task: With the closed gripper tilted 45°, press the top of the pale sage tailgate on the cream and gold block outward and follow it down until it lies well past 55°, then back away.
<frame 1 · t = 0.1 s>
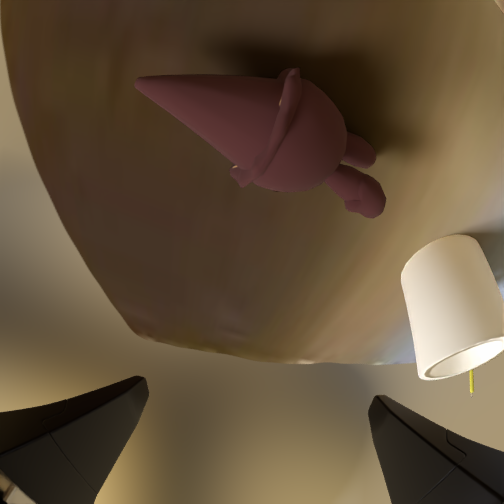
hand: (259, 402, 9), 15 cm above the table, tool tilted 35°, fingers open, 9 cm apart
icecream: (274, 108, 16), on the table
mug: (445, 270, 25), on the table
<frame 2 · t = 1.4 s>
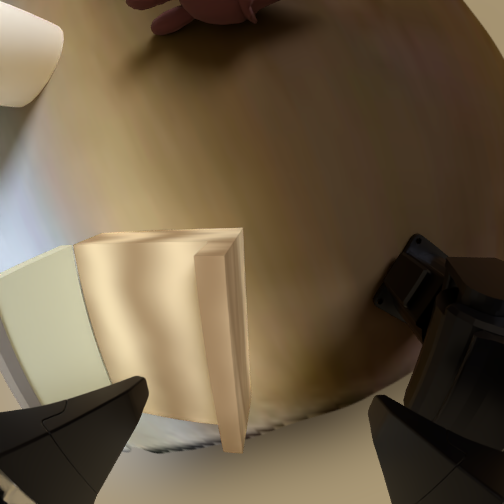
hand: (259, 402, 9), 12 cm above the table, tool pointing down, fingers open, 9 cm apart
cream and gold block: (177, 323, 23), on the table
icecream: (241, 8, 15), on the table
mug: (27, 68, 17), on the table
tailgate: (59, 370, 15), point 9 cm above the table, hinge at 0.0°
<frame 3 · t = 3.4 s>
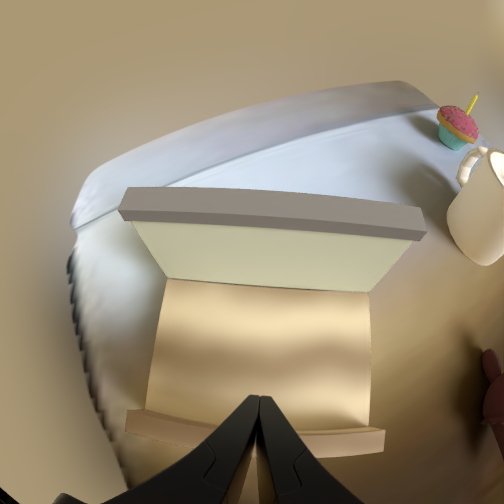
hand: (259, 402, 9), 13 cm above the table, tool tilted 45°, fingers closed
cream and gold block: (261, 370, 22), on the table
icecream: (488, 409, 17), on the table
cupcake: (448, 142, 38), on the table
mug: (471, 225, 29), on the table
tailgate: (271, 249, 17), point 9 cm above the table, hinge at 0.0°
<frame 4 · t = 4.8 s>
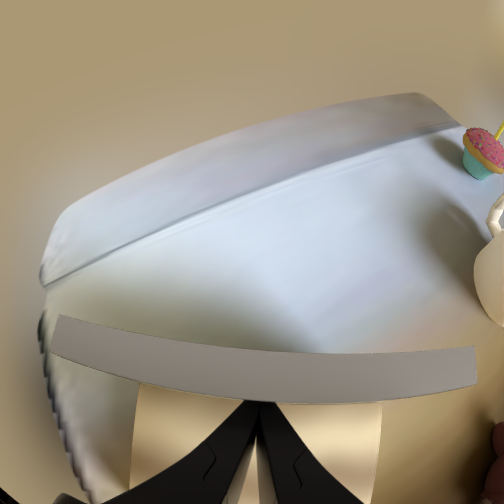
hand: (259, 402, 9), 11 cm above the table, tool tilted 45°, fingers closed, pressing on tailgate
cream and gold block: (253, 471, 16), on the table
icecream: (491, 477, 12), on the table
cupcake: (473, 170, 32), on the table
mug: (497, 277, 23), on the table
tailgate: (264, 387, 12), point 9 cm above the table, hinge at 3.0°, touching gripper
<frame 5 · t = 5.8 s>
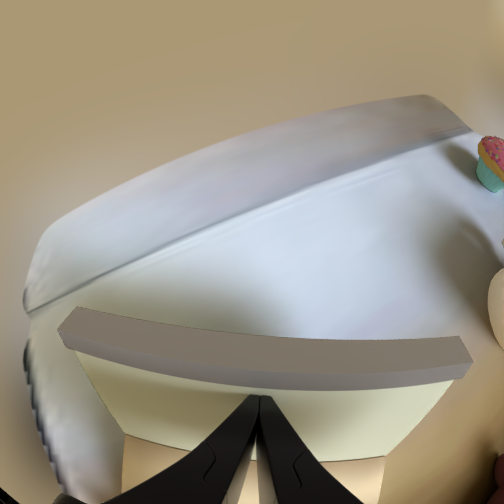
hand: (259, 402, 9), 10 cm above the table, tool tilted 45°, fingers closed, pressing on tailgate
cupcake: (487, 182, 28), on the table
tailgate: (261, 417, 11), point 7 cm above the table, hinge at 34.3°, touching gripper
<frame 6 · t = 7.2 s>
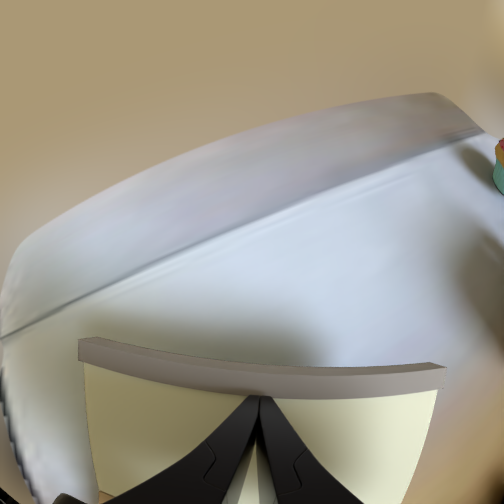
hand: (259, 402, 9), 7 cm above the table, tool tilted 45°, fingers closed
cupcake: (503, 188, 25), on the table
tailgate: (253, 460, 10), point 5 cm above the table, hinge at 71.4°
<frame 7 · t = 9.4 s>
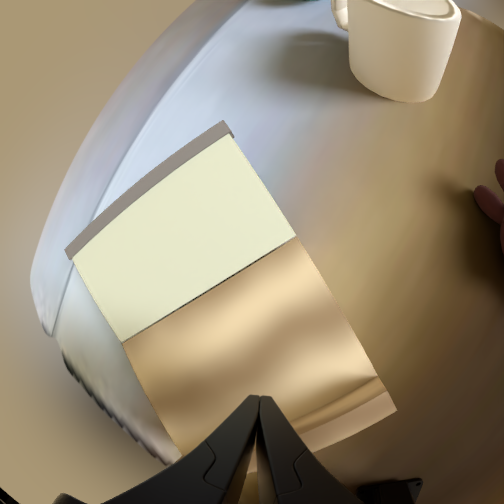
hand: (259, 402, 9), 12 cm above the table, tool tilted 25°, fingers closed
cream and gold block: (252, 363, 21), on the table
mug: (387, 64, 22), on the table
tailgate: (163, 241, 19), point 5 cm above the table, hinge at 71.4°
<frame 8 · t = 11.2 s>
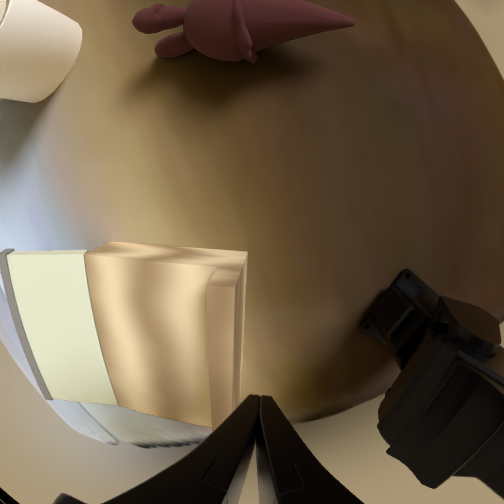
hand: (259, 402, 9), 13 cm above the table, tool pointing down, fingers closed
cream and gold block: (177, 332, 24), on the table
icecream: (246, 40, 17), on the table
mug: (42, 63, 18), on the table
tailgate: (58, 336, 20), point 5 cm above the table, hinge at 71.4°
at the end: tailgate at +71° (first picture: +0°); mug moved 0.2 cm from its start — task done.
